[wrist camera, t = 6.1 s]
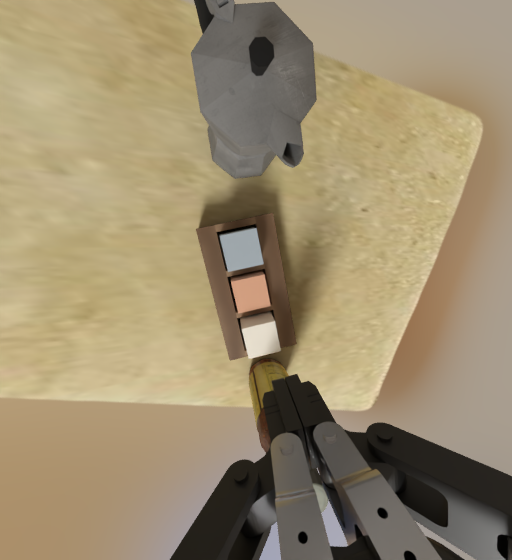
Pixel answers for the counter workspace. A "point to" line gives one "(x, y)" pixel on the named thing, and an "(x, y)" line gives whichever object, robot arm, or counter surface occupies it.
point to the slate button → (241, 249)
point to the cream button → (260, 334)
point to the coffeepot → (252, 84)
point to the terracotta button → (250, 291)
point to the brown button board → (270, 268)
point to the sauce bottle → (259, 385)
